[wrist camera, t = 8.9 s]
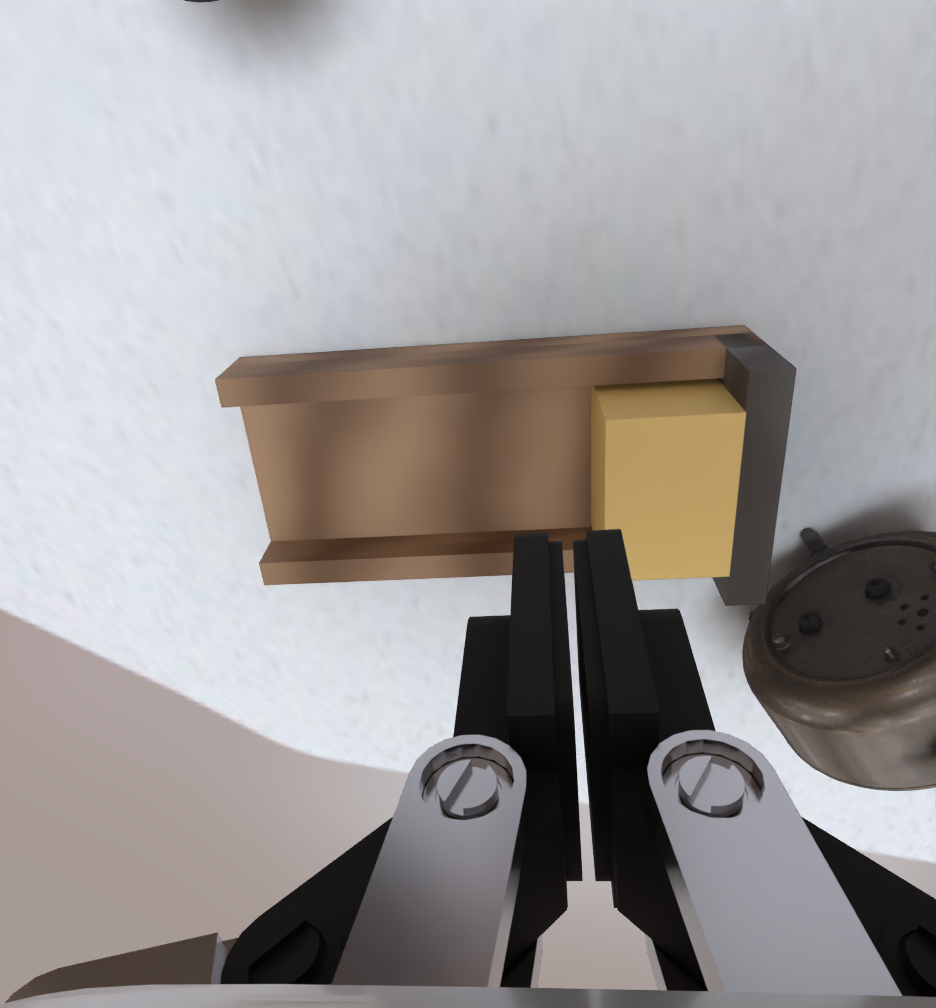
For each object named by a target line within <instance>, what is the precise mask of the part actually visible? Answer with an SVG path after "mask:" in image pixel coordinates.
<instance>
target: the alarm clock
mask: <svg viewBox="0 0 936 1008" xmlns="http://www.w3.org/2000/svg"><path fill="white" fill-rule="evenodd" d="M801 536H802V539H803V540H804V542H805V543H806V545H807V547H808V548H809V550H810V551H811V558H810V560H808V561H806V562H805V563H803V564H802V565H800V566H799V567H797V568H796V569H794V570H793V571H792V572H790V573H789V574H788V575H787V576H785V577H784V578H783V579H782V580H781V581H780V582H779V583H778V584H777V585H776V586H774V587H773V588H772V589H771V591H770V592H769V593H768V594H767V595H766V603H765V604H759V606H758V607H757V609H756V610H755V612H754V613H751V614H750V616H749V621H750V623H749V625H748V628H747V631H746V634H745V638H744V644H743V657H742V659H743V668H744V672H745V676H746V679H747V682H748V684H749V686H750V688H751V690H752V692H753V693H754V695H755V696H756V698H757V699H758V701H759V702H760V704H761V705H762V707H763V708H764V709H765V711H766V712H767V714H768V715H769V716H770V718H771V719H772V721H773V722H774V723H775V725H776V726H777V728H778V729H779V730H780V732H781V733H782V735H783V736H784V738H785V739H786V741H787V742H788V744H789V745H790V746H791V748H792V749H793V750H794V751H795V752H796V753H797V755H798V756H799V757H800V758H801V759H803V760H804V761H805V762H806V763H807V764H809V765H810V766H811V767H813V768H814V769H816V770H817V771H820V772H821V773H823V774H825V775H827V776H829V777H831V778H833V779H835V780H838V781H841V782H844V783H847V784H851V785H855V786H859V787H863V788H869V789H876V790H888V791H910V790H921V789H928V788H934V787H936V532H927V531H901V532H890V533H883V534H877V535H872V536H867V537H863V538H859V539H856V540H853V541H850V542H847V543H844V544H841V545H839V546H836V547H833V548H828V547H827V546H826V544H825V543H824V542H823V540H822V539H821V537H820V536H819V535H818V533H817V532H816V531H814V530H813V529H810V528H809V529H805V530H804V531H803V532H802V534H801Z"/></svg>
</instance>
